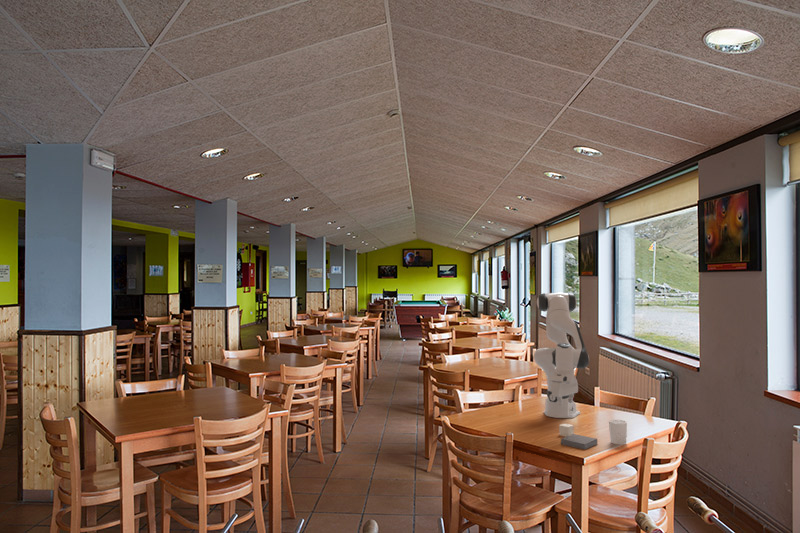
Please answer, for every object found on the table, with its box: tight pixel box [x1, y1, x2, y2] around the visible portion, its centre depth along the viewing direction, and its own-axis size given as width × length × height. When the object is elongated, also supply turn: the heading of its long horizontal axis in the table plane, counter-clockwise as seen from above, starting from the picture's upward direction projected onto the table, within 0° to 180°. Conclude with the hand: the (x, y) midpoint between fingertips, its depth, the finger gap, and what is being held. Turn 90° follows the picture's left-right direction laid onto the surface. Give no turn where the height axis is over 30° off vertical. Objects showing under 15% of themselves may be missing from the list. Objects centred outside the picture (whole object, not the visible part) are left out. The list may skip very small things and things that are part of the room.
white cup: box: [608, 419, 628, 446], centre depth 244 cm, size 8×8×10 cm
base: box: [560, 433, 598, 450], centre depth 242 cm, size 12×12×2 cm
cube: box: [558, 423, 575, 437], centre depth 258 cm, size 5×5×5 cm
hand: (565, 404), depth 258 cm, fingers open, 8 cm apart
